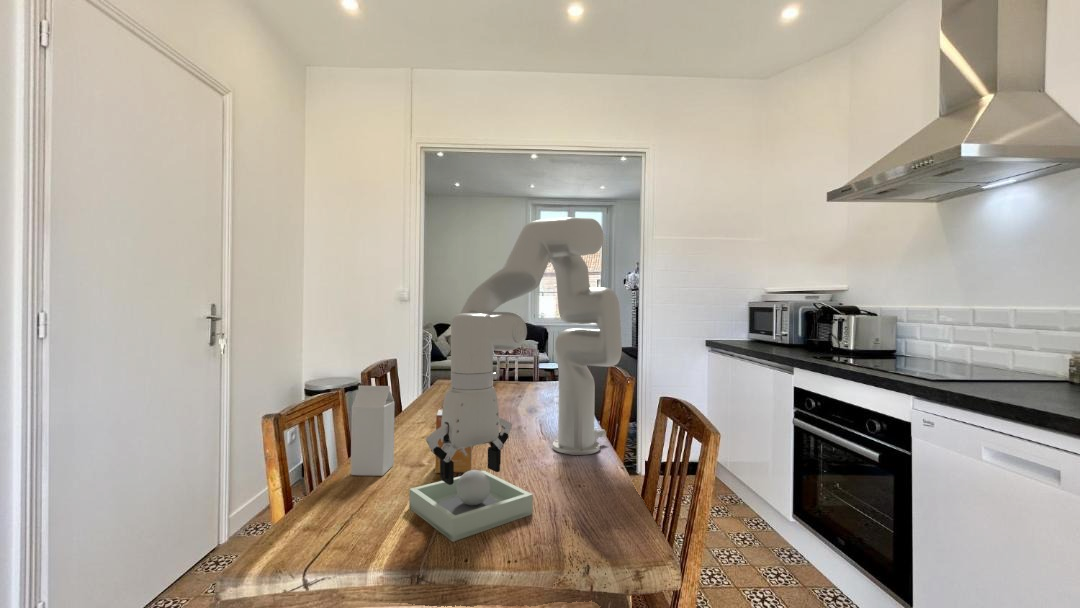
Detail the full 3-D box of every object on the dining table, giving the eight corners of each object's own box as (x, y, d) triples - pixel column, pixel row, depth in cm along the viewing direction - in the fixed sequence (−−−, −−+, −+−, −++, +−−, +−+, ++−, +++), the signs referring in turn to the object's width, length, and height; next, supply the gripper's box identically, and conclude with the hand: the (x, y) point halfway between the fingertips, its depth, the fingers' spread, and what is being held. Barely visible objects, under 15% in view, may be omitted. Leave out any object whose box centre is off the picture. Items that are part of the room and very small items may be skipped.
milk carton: (382, 476, 101) (384, 388, 101) (350, 476, 101) (351, 388, 102) (393, 465, 108) (395, 383, 109) (363, 465, 108) (364, 383, 109)
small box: (434, 474, 103) (435, 414, 103) (437, 464, 109) (437, 409, 109) (471, 472, 104) (472, 414, 104) (472, 463, 110) (472, 408, 110)
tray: (483, 487, 95) (483, 470, 95) (532, 514, 83) (532, 494, 83) (409, 508, 85) (409, 488, 85) (452, 541, 73) (452, 519, 73)
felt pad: (479, 491, 91) (479, 490, 91) (508, 508, 83) (509, 506, 83) (432, 504, 85) (432, 503, 85) (459, 524, 77) (459, 522, 77)
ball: (475, 498, 88) (481, 466, 89) (493, 509, 83) (499, 475, 84) (447, 499, 84) (454, 465, 85) (464, 510, 80) (471, 474, 81)
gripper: (499, 374, 93) (499, 460, 93) (418, 383, 82) (417, 481, 82) (522, 379, 87) (522, 471, 87) (438, 389, 76) (437, 494, 76)
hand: (471, 476), depth 84 cm, fingers open, 9 cm apart
